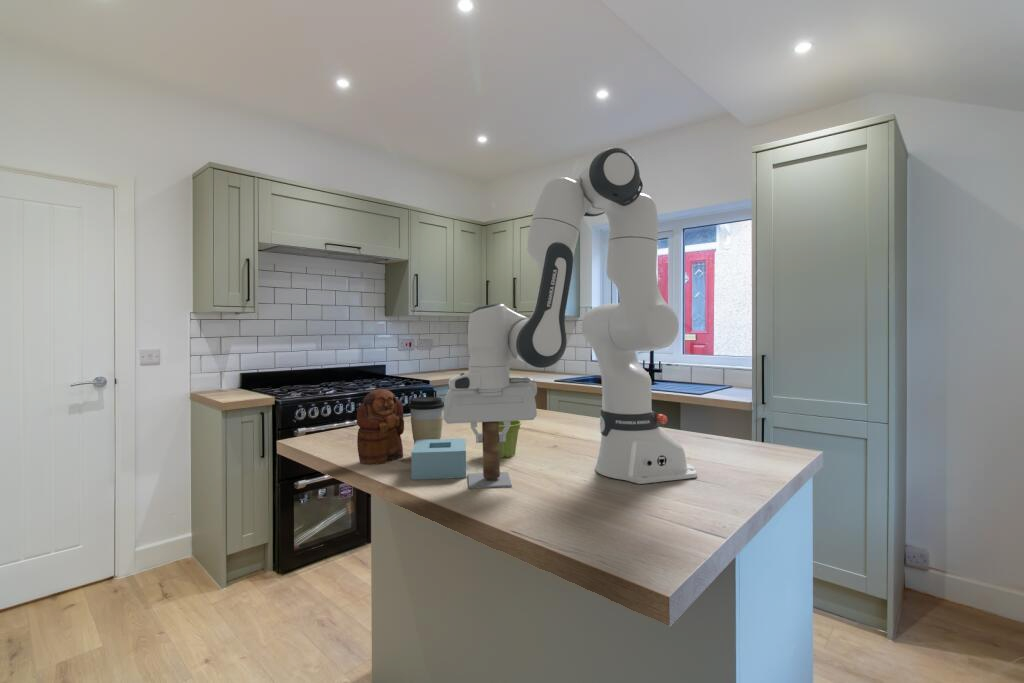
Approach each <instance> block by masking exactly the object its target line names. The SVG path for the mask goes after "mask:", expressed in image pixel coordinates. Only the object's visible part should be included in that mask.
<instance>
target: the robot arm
mask: <svg viewBox="0 0 1024 683" xmlns="http://www.w3.org/2000/svg"><path fill="white" fill-rule="evenodd" d="M643 185H644V184H643V180H642V178H641V175H640V169H639V166H638V162H637V160H636V158H635V157H634V155H632V153H631V152H630V151H628V150H626V149H624V148H620V147H612V148H607V149H606V150H603V151H601V152H599V153H598V154H597V155H596V156H595V157H594V158H593V159H592V160H591V161H590V162H589V163H587V164H586V165H585V167H584V168H583V169H582V171H581V172H580V173H579V174H578V176H577V177H576V178H575V179H572V178H569V177H563V176H559V177H554V178H551V179H550V180H548V181H547V182H546V184H544V186H543V189H542V190H541V193H540V195H539V197H538V199H537V202H536V205H535V208H534V210H533V213H532V218H531V222H530V225H529V229H528V230H529V231H528V234H527V248H526V249H527V252H528V254H529V256H530V257H531V259H532V261H534V262H535V263H536V264H537V266H538V268H539V282H538V286H537V292H536V296H535V302H534V306H533V307H534V308H533V311H532V314H531V315H530V317H528V316H525V315H522V314H520V313H518V312H515V311H514V310H512V309H510V308H509V307H507V306H506V304H504V303H500V302H497V303H491V304H486V305H482V306H478V307H475V308H474V309H473V310H472V311H471V312H470V314H469V319H468V327H467V328H468V329H467V330H468V332H467V346H468V350H469V353H470V354H469V355H470V356H469V361H468V370H467V371H464V372H462V373H460V374H456V375H454V376H451V377H450V378H449V379H448V387H449V389H448V390H447V392H446V394H445V397H444V407H443V420H444V422H445V423H446V424H449V425H450V424H470V429H471V430H472V432H473V434H474V435H475V444H480V443H481V444H483V439H482V438H483V434H482V432H479V431H478V430H477V428H478V423H482V422H498V421H503V424H504V426H505V427H504V429H503V431H502V432H499V442H506V433H507V432H508V430H509V428H510V426H511V421H521V422H522V421H533V420H535V419H536V417H537V416H538V415H537V413H538V412H537V403H536V398H535V397H536V396H537V393H538V384H537V382H536V381H535V380H534V379H532V378H531V377H528V376H527V377H510V376H511V375H510V361H511V360H517V361H521V362H523V363H526V364H529V365H530V366H531V367H534V368H540V369H542V368H548V367H552V366H553V365H555V364H557V363H558V361H560V360H561V358H562V357H563V356H564V354H565V352H566V348H567V343H568V342H567V341H568V340H567V332H566V324H565V321H566V320H565V318H566V316H565V315H566V311H567V310H566V309H567V304H568V298H569V293H570V286H571V280H572V274H573V264H574V256H575V251H576V247H577V243H578V239H579V235H580V231H581V226H582V221H583V219H584V217H598V216H601V215H603V214H605V216H606V217H607V220H608V225H609V226H608V227H609V233H608V242H607V245H608V246H607V257H606V259H607V260H606V271H605V272H606V276H607V278H608V279H609V281H611V283H612V284H614V285H615V286H616V289H617V294H618V298H619V302H617V303H616V302H615V303H604V304H601V305H598V306H595V307H593V308H590V309H588V311H586V312H585V313H584V316H583V317H582V320H581V333H582V336H583V338H584V339H585V341H586V342H587V343H588V344H589V346H590V347H591V349H592V350H593V352H594V355H595V358H596V360H597V363H598V367H599V371H600V377H601V394H602V397H601V400H602V402H601V404H602V406H601V407H602V408H601V409H600V414H599V415H600V416H599V431H600V434H601V436H600V445H599V452H598V457H597V461H596V465H595V467H594V469H595V471H596V472H597V473H598V474H600V475H602V476H604V477H608V478H611V479H615V480H623V481H628V482H631V483H634V484H639V485H641V484H644V485H645V484H651V483H659V482H668V481H676V480H677V481H679V480H686V479H687V480H688V479H694V478H697V477H698V472H697V470H696V468H695V466H693V465H692V464H690V463H688V462H687V457H686V452H685V449H684V447H683V445H682V444H681V443H680V442H678V441H677V440H676V439H675V438H673V437H672V436H671V435H670V434H668V433H667V431H665V430H664V429H662V428H661V427H660V424H662V425H665V424H667V422H668V417H667V416H666V415H665V414H662V413H657V412H655V411H653V410H652V378H651V376H650V374H649V372H648V371H647V370H645V368H643V367H642V365H641V363H640V361H639V359H638V355H637V352H652V351H658V350H662V349H667V348H669V347H670V346H672V344H673V343H674V342H675V341H676V338H677V337H678V334H679V333H678V332H679V318H678V315H677V313H676V312H675V310H674V309H673V308H672V307H671V306H670V305H669V304H668V303H667V302H666V301H665V299H664V297H663V296H662V293H661V290H660V288H659V283H658V276H657V267H658V266H657V262H658V261H657V260H658V258H657V257H658V243H659V221H658V220H659V219H658V211H657V206H656V205H657V204H656V202H655V200H654V199H653V198H652V197H650V195H647V194H645V193H642V191H643V187H644V186H643Z"/></svg>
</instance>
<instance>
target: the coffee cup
mask: <svg viewBox="0 0 1024 683" xmlns="http://www.w3.org/2000/svg"><path fill="white" fill-rule="evenodd" d="M444 403H445V401H444V402H443V400H442V398H441V397H438V396H421V397H419V396H418V397H413V398H411V399H410V402H409V403H408V404H407V405H408V406H407V409H409V410H410V425H411V433H412V440H413V443H414V444H413V446H414V445H415V442H416V440H428V439H442V431H443V429H442V428H443V420H444V415H443V414H444Z"/></svg>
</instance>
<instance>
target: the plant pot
mask: <svg viewBox="0 0 1024 683" xmlns="http://www.w3.org/2000/svg"><path fill="white" fill-rule="evenodd" d="M521 425H522V421H511V426H510V428H509V430H508V432H507V433H506V442H499V458H503V457H506V458H510V457H514V456H515V455H516V451H517V444H518V436H519V430H520V429H521V428H520V427H521ZM504 427H505V426H504V424H503V421H499V432H502V431H503V429H504Z"/></svg>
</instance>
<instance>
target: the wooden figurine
mask: <svg viewBox="0 0 1024 683" xmlns="http://www.w3.org/2000/svg"><path fill="white" fill-rule="evenodd" d="M356 410H357V411H356V421H355V422H356V425H357V426H358V427H359V428H358V431H357V437H356V438H357V439H356V440H357V441H356V442H357V443H356V444H357V446H356V447H357V453H358V459H359V460H358V461H359V462H360V464H362V465H381V464H382V465H383V464H386V463H387V462H392V461H395V460H397V458H403V457H404V450H403V448H404V447H403V442H402V437H401V435H403V434H404V431H405V420H404V407H403V402H402V401H401V400H400V399H398V398H397V396H396V395H395V394H394V393H393V392H392V391H391V390H388V389H384V388H379V389H374V390H371V391H370V392H369V393H367V394H366V395H365V396H364V398H363V399H362V403H361V404H359V405H358V406H357V408H356Z"/></svg>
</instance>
